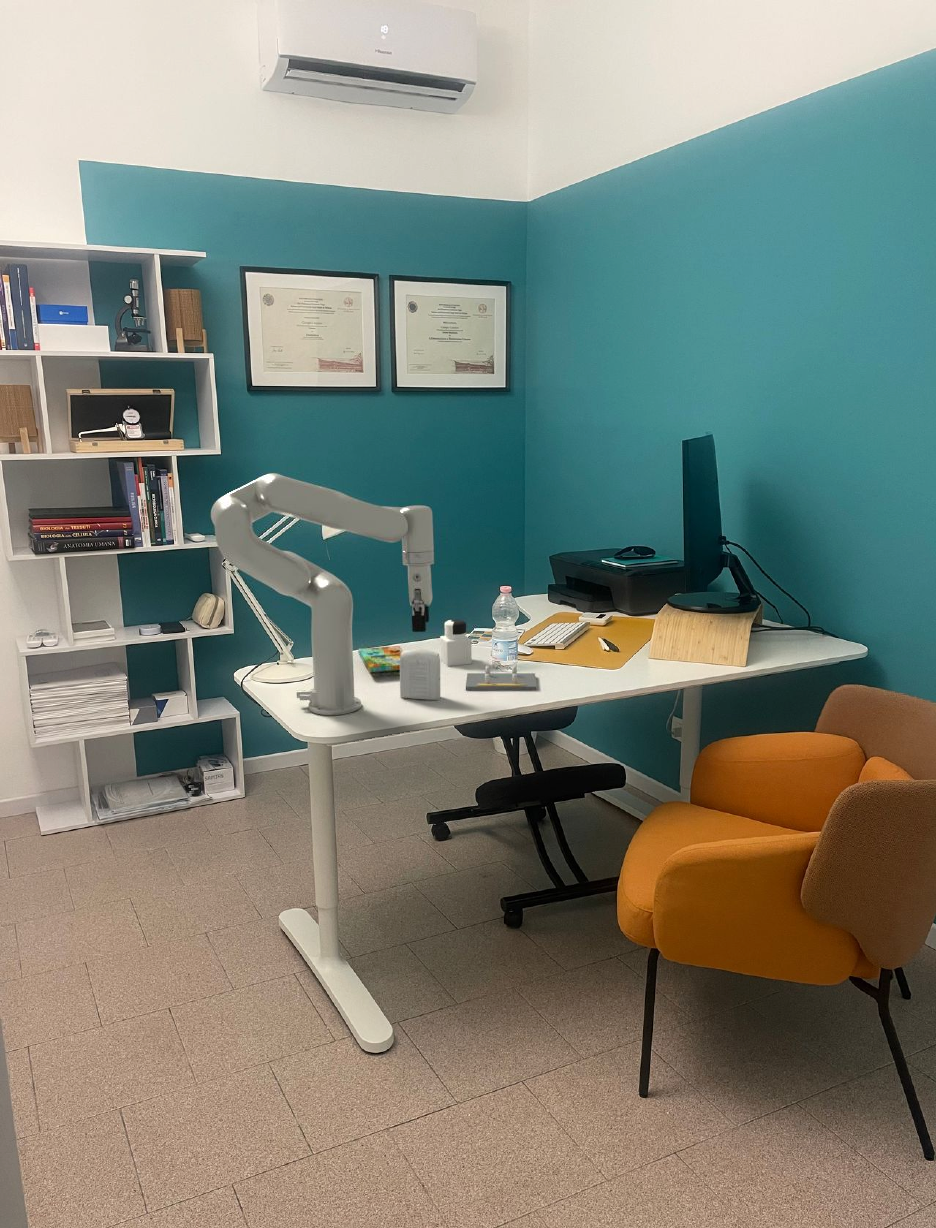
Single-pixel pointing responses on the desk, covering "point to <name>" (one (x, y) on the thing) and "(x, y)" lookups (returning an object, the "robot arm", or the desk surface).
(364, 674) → the desk surface
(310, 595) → the robot arm
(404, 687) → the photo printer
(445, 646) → the medicine bottle
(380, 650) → the puzzle game
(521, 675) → the pin tray
